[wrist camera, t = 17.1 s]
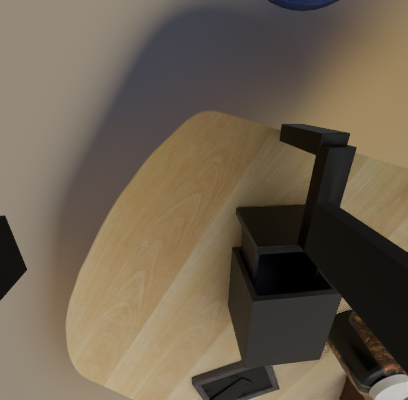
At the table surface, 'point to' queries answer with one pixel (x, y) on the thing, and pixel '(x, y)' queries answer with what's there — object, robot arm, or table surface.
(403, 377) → the jar
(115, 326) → the table surface
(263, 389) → the picture frame
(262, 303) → the box
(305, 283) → the fryer drawer
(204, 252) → the table surface
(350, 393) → the bread
